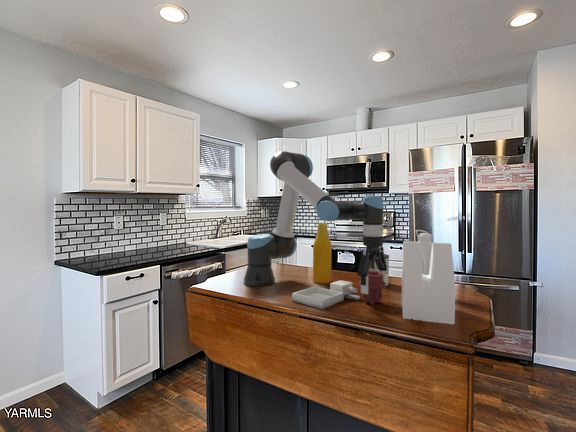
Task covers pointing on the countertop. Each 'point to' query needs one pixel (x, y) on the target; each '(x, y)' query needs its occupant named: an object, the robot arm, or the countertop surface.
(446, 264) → the white notched block
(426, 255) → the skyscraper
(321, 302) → the tray
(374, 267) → the coffee can
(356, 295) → the track
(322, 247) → the beer bottle
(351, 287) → the block
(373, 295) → the mechanical component
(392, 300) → the countertop surface
